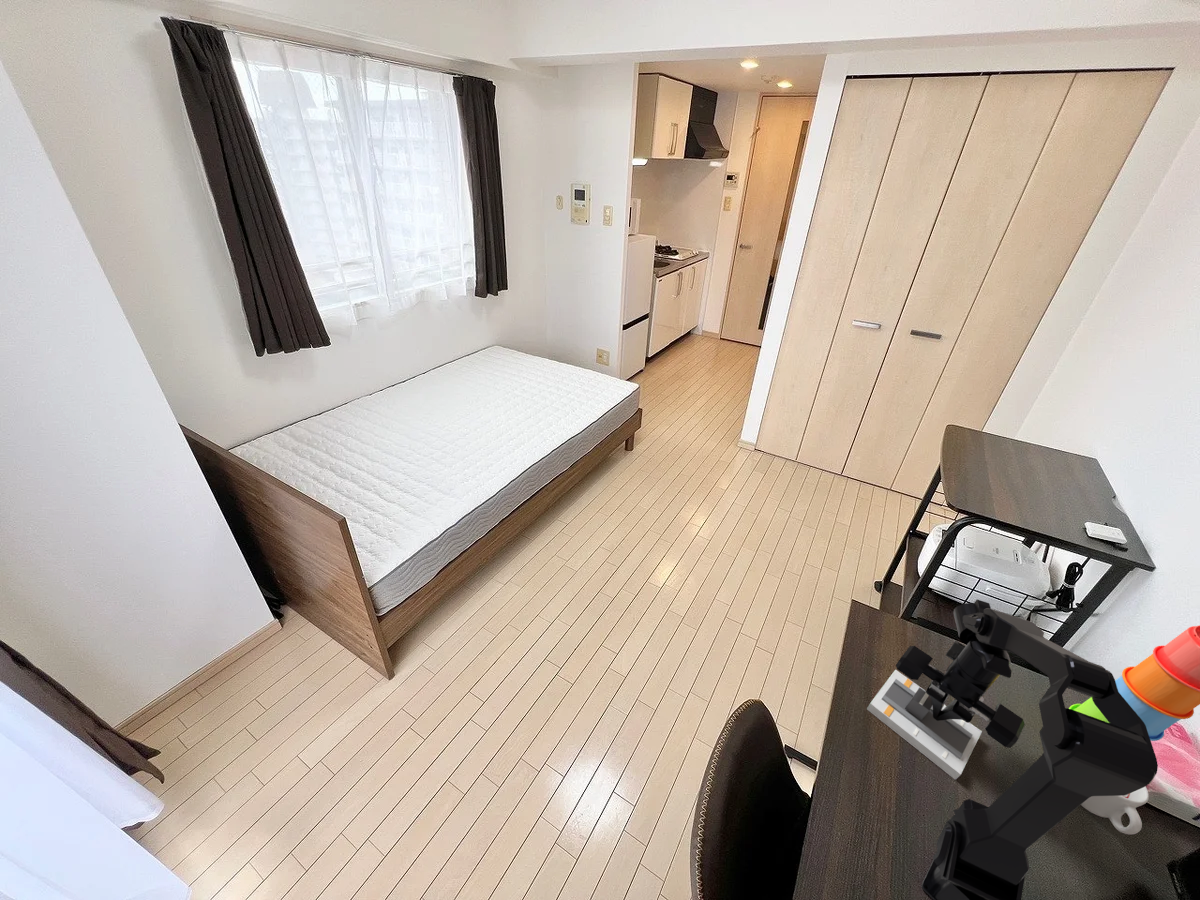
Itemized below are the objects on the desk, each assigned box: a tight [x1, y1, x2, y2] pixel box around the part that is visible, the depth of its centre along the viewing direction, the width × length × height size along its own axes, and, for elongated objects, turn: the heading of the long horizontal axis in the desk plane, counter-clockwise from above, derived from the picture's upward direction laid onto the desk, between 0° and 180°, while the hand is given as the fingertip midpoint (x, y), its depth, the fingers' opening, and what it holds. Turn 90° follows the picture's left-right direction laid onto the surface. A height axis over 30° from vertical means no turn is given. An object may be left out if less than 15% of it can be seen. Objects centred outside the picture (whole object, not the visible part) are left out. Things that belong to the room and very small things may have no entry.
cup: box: [1080, 786, 1150, 835], centre depth 81 cm, size 11×8×8 cm
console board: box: [866, 668, 983, 781], centre depth 93 cm, size 12×16×2 cm
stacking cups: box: [1068, 625, 1200, 742], centre depth 82 cm, size 10×10×35 cm
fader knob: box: [905, 687, 932, 720], centre depth 92 cm, size 4×3×4 cm
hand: (935, 717), depth 91 cm, fingers closed
